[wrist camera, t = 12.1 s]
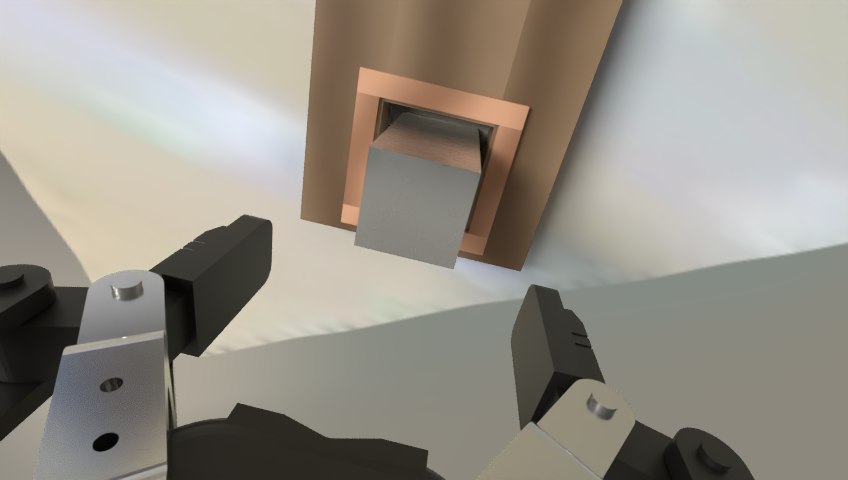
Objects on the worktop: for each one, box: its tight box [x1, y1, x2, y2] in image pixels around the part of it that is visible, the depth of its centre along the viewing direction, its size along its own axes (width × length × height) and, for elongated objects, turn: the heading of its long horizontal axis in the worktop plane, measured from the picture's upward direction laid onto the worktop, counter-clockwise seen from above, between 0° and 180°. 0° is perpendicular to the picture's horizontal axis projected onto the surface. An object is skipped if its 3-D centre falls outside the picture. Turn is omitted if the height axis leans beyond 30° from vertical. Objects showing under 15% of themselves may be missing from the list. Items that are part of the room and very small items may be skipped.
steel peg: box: [354, 112, 481, 269], centre depth 21 cm, size 4×4×9 cm
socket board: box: [301, 0, 623, 271], centre depth 21 cm, size 14×22×3 cm, turn 168°
